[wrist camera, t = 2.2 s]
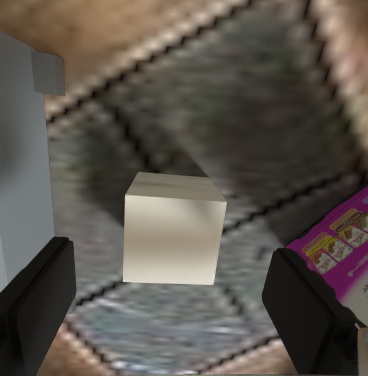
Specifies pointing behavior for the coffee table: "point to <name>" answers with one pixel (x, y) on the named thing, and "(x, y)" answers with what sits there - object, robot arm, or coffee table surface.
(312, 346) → the robot arm
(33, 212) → the screen
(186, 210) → the beige cube
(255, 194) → the coffee table surface
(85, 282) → the coffee table surface
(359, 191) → the candy bar box
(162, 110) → the coffee table surface
